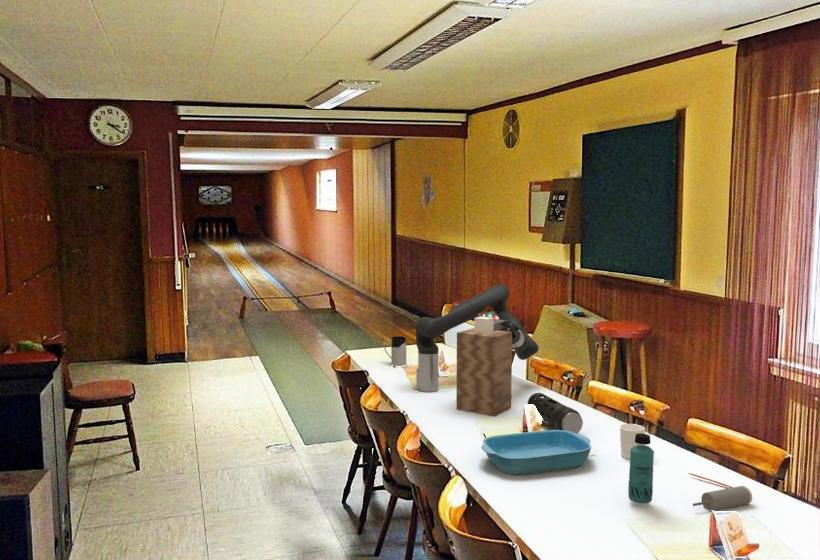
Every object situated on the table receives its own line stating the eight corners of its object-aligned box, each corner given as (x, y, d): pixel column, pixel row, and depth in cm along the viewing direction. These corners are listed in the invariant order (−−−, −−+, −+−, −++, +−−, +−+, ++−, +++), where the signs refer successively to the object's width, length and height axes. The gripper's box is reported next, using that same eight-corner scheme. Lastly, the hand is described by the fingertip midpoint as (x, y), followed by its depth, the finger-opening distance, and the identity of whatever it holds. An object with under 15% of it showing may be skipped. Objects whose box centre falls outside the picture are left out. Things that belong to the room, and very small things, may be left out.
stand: (456, 409, 291) (456, 332, 288) (473, 401, 303) (473, 327, 299) (495, 416, 281) (496, 337, 278) (511, 408, 292) (512, 331, 289)
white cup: (644, 453, 238) (645, 425, 237) (644, 461, 230) (644, 432, 229) (619, 451, 240) (620, 422, 239) (618, 459, 233) (619, 429, 232)
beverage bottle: (624, 500, 200) (626, 431, 198) (646, 499, 200) (649, 430, 198) (633, 509, 193) (635, 438, 191) (656, 508, 194) (659, 438, 192)
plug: (474, 332, 288) (474, 318, 287) (496, 326, 303) (496, 312, 303) (487, 334, 284) (487, 319, 284) (508, 327, 300) (509, 313, 299)
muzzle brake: (548, 416, 281) (548, 390, 280) (584, 438, 255) (585, 410, 254) (526, 418, 279) (526, 392, 278) (560, 440, 252) (561, 412, 251)
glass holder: (401, 368, 367) (401, 339, 365) (378, 365, 374) (378, 337, 373) (410, 365, 374) (410, 337, 372) (388, 362, 382) (388, 334, 380)
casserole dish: (497, 482, 214) (497, 459, 213) (470, 457, 235) (470, 436, 235) (604, 469, 224) (605, 447, 224) (570, 446, 246) (570, 426, 245)
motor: (763, 503, 197) (762, 485, 197) (701, 516, 189) (699, 497, 189) (701, 487, 219) (700, 470, 219) (643, 497, 211) (642, 480, 211)
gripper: (500, 327, 316) (484, 312, 303) (529, 330, 307) (515, 315, 295) (496, 342, 313) (480, 328, 300) (525, 346, 305) (510, 331, 292)
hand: (497, 321), depth 297 cm, fingers open, 5 cm apart
